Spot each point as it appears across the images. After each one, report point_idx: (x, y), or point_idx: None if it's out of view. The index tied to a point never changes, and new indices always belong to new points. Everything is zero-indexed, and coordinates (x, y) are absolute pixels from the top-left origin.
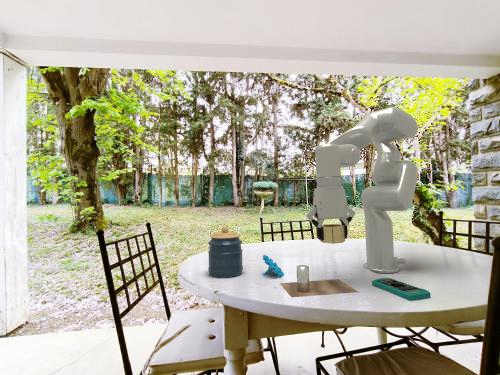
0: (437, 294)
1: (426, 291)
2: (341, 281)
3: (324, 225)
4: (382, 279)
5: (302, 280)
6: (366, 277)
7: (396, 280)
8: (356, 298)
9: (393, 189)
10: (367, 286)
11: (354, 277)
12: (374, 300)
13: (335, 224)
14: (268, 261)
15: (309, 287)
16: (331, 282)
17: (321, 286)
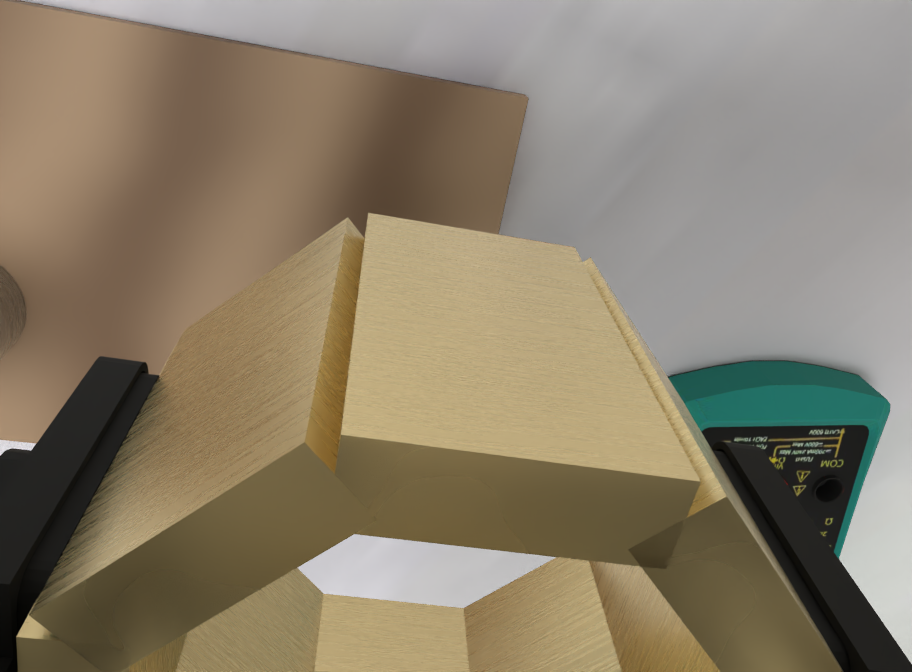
0: (908, 620)
1: None
2: (500, 189)
3: (317, 542)
4: (788, 425)
5: None
6: (897, 98)
7: (859, 482)
8: (355, 534)
9: None
10: (651, 345)
11: (789, 40)
12: (448, 594)
13: (727, 658)
14: None
15: (1, 358)
16: (377, 179)
17: (202, 255)
